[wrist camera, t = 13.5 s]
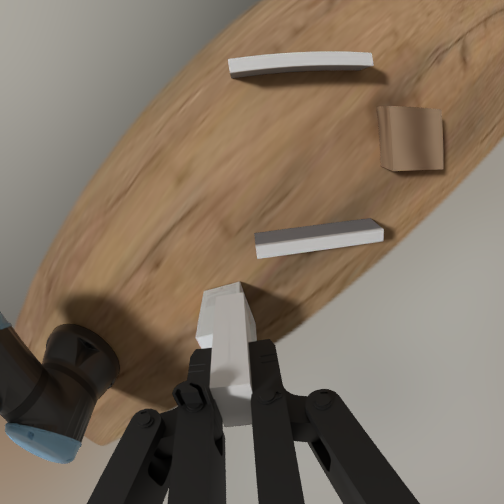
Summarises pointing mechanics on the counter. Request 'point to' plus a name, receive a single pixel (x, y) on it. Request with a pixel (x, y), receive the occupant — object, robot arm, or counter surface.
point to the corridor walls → (316, 234)
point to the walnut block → (410, 138)
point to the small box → (208, 311)
